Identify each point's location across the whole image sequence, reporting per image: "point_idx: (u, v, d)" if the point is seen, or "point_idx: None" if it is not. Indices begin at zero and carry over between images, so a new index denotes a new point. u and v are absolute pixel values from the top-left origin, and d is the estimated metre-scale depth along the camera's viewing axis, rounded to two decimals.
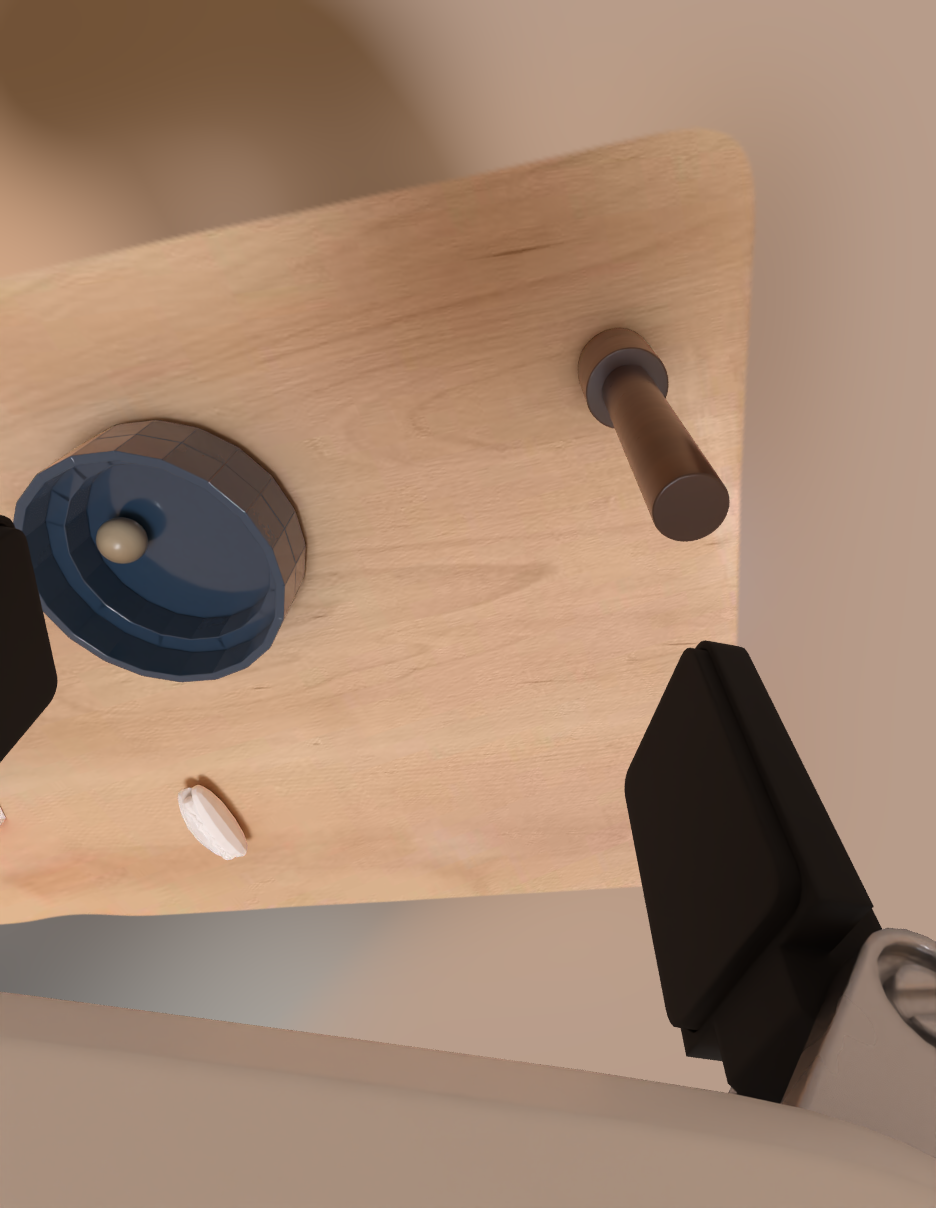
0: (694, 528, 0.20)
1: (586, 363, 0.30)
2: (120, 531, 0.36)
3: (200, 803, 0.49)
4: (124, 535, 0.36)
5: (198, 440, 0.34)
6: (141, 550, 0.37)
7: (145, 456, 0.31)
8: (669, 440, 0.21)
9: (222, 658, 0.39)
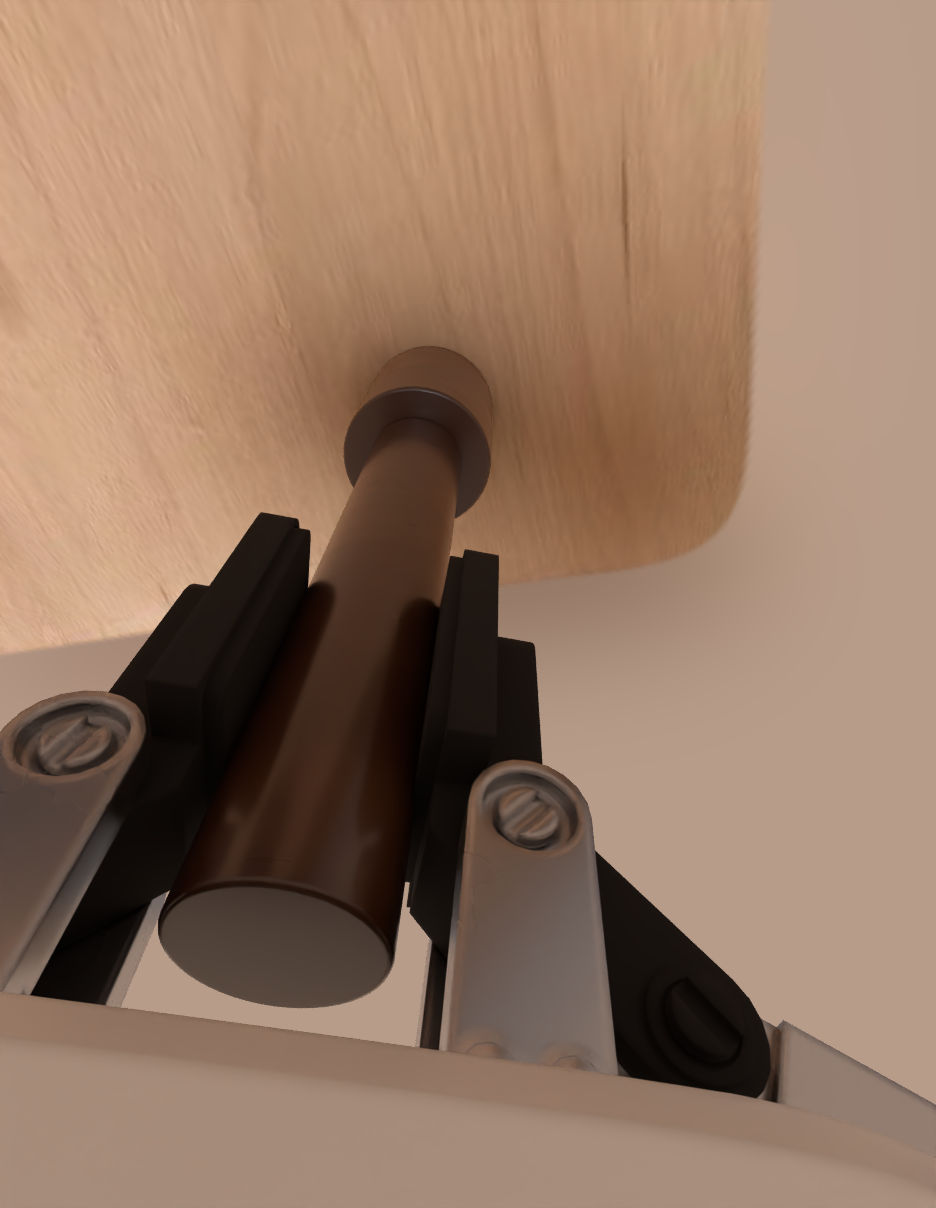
0: (213, 961, 0.06)
1: (448, 372, 0.17)
2: None
3: None
4: None
5: None
6: None
7: None
8: (419, 727, 0.08)
9: None
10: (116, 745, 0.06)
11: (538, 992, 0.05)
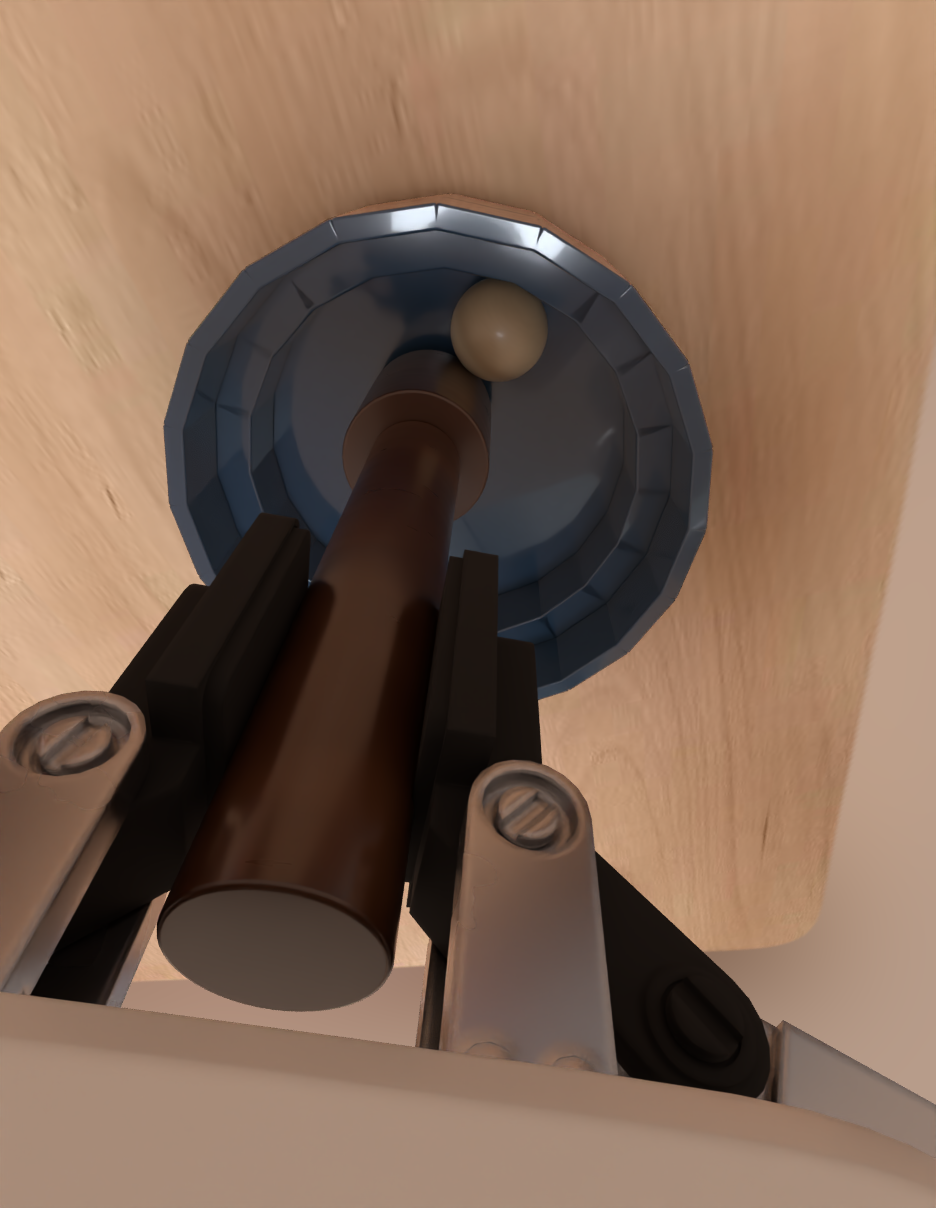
0: (212, 964, 0.06)
1: (446, 375, 0.17)
2: (546, 336, 0.18)
3: None
4: (544, 341, 0.17)
5: None
6: (507, 360, 0.17)
7: None
8: (419, 729, 0.08)
9: None
10: (117, 745, 0.06)
11: (538, 992, 0.05)
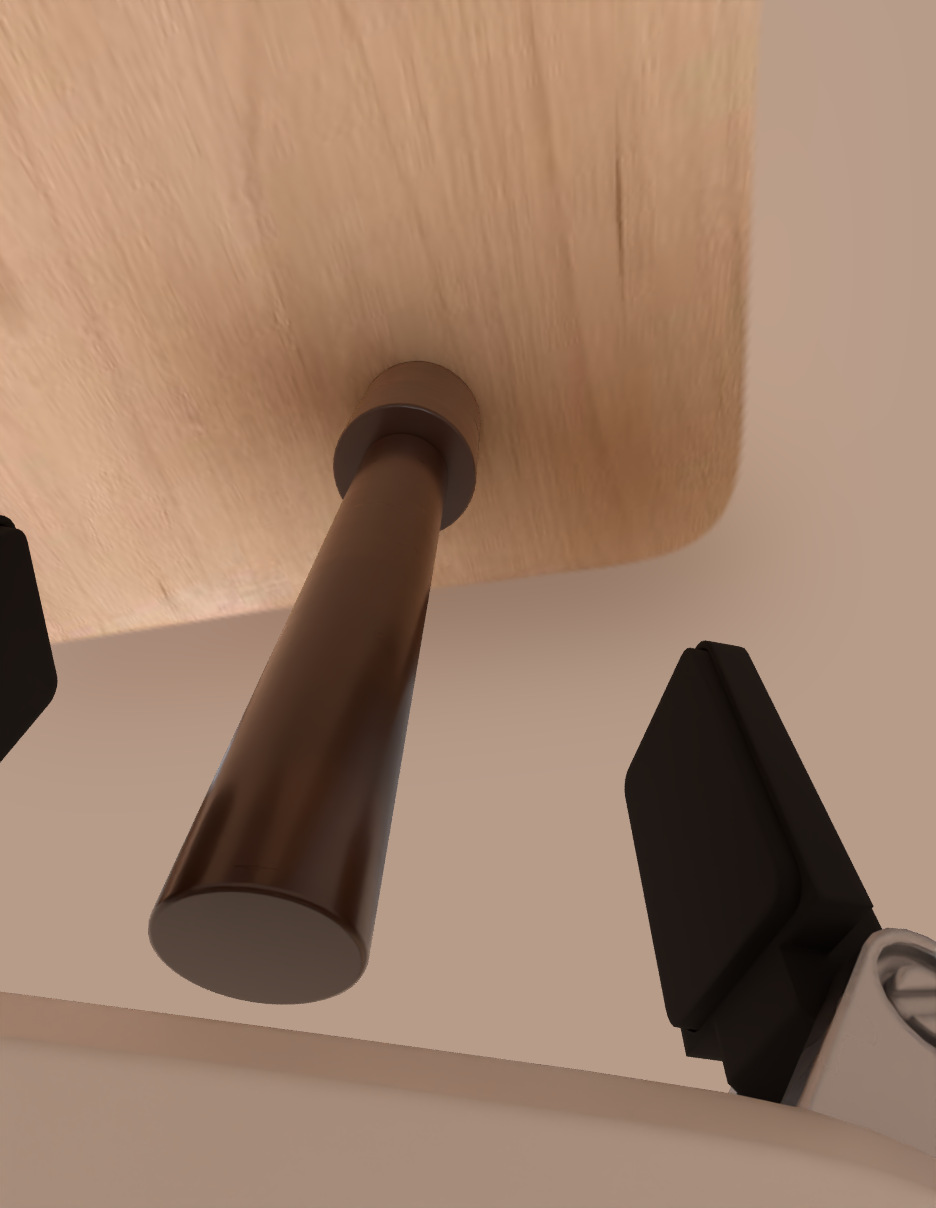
0: (198, 958, 0.07)
1: (438, 389, 0.17)
2: None
3: None
4: None
5: None
6: None
7: None
8: (399, 741, 0.09)
9: None
10: None
11: None
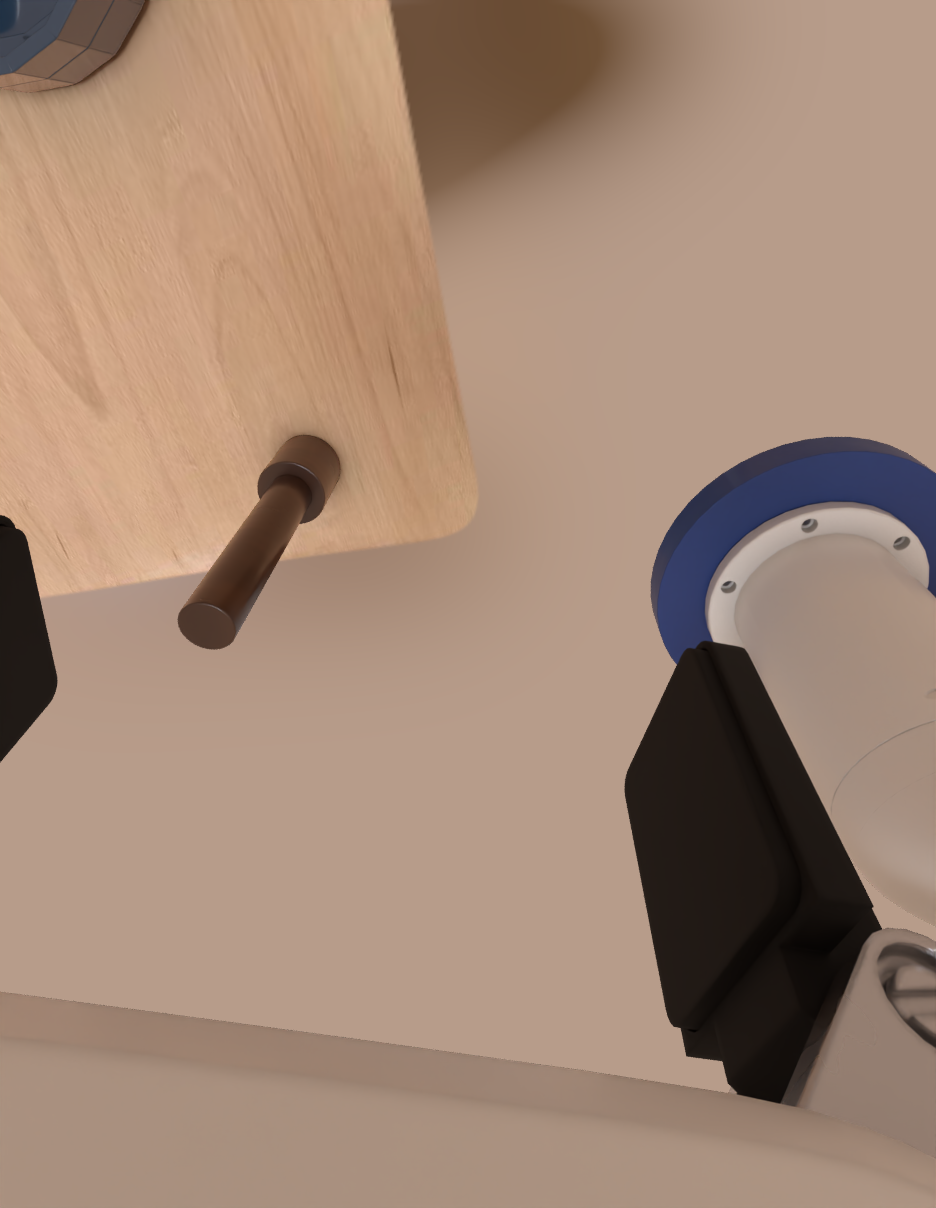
0: (191, 630, 0.25)
1: (309, 452, 0.36)
2: None
3: None
4: None
5: None
6: None
7: None
8: (256, 584, 0.27)
9: None
10: None
11: None
